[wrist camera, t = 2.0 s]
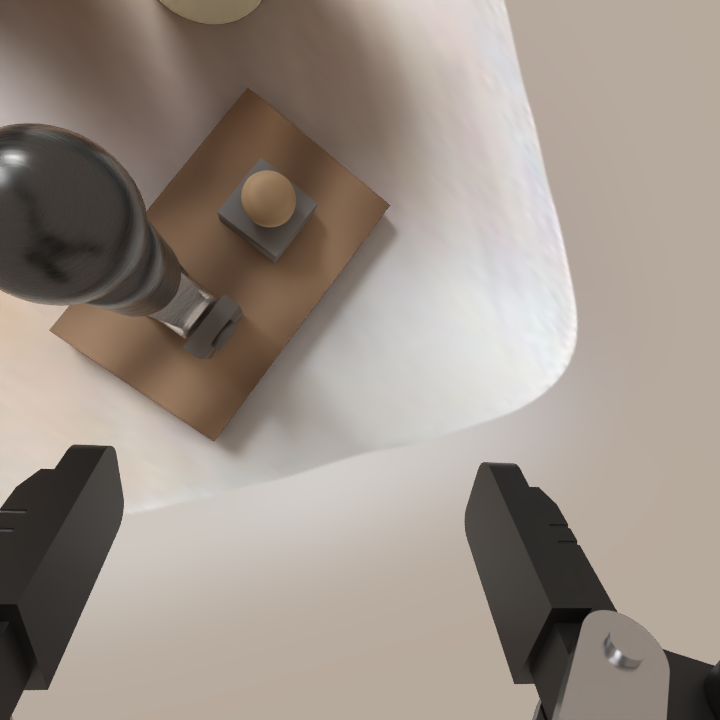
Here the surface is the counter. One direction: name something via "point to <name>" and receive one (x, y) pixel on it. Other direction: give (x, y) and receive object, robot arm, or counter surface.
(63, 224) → the lever
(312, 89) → the counter surface
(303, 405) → the counter surface
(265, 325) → the nutcracker bench
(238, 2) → the reusable coffee cup
